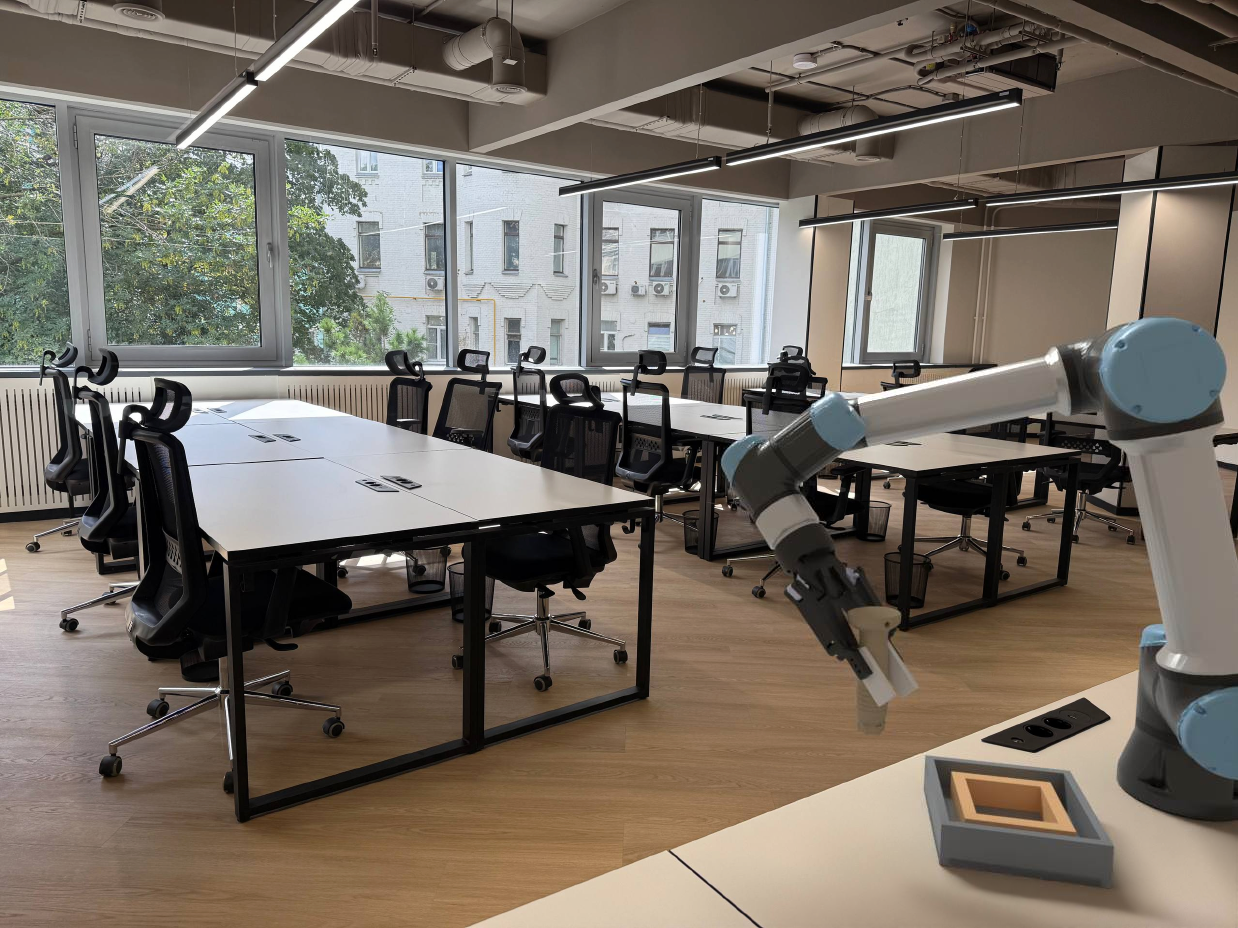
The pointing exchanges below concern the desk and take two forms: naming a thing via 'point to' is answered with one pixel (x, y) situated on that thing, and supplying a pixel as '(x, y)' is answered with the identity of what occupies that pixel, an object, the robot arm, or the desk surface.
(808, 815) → the desk surface
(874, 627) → the handle
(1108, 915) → the desk surface
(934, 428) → the robot arm
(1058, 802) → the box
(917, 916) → the desk surface
